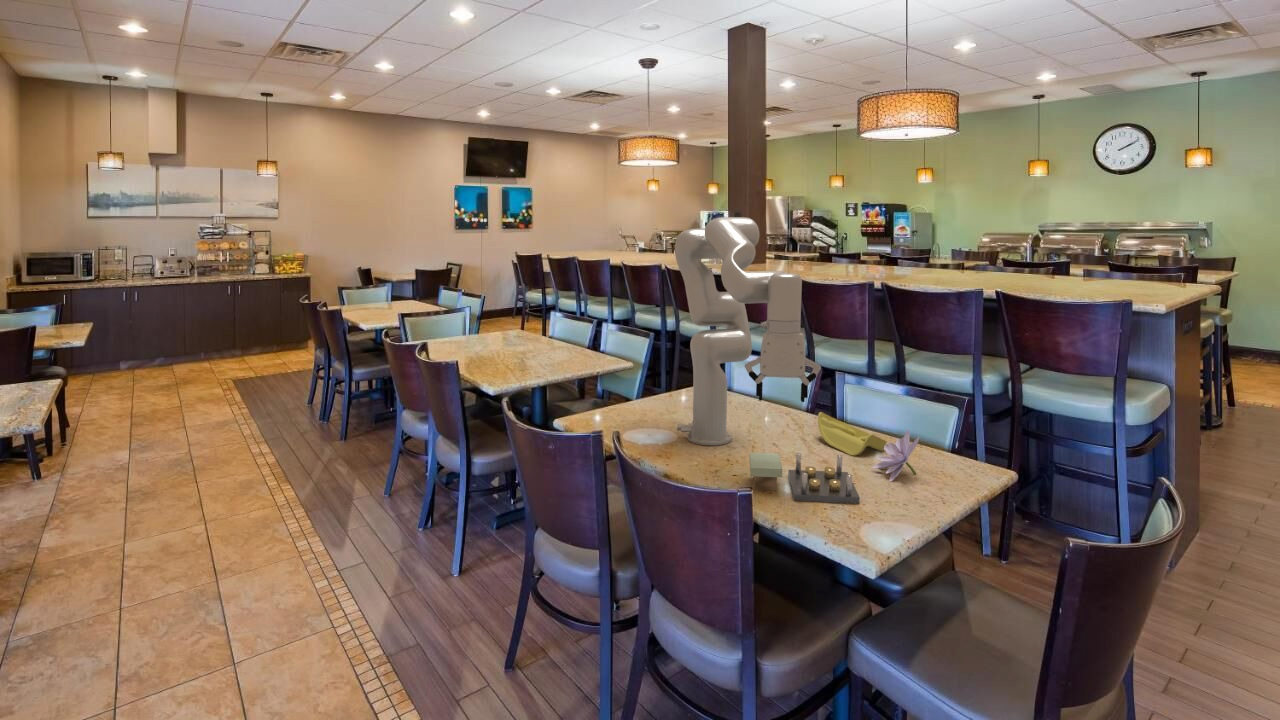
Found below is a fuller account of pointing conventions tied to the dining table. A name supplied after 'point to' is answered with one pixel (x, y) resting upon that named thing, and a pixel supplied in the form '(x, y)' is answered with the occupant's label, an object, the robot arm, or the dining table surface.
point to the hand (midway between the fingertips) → (781, 400)
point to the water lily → (897, 455)
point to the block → (765, 483)
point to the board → (765, 465)
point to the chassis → (822, 484)
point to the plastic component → (847, 436)
